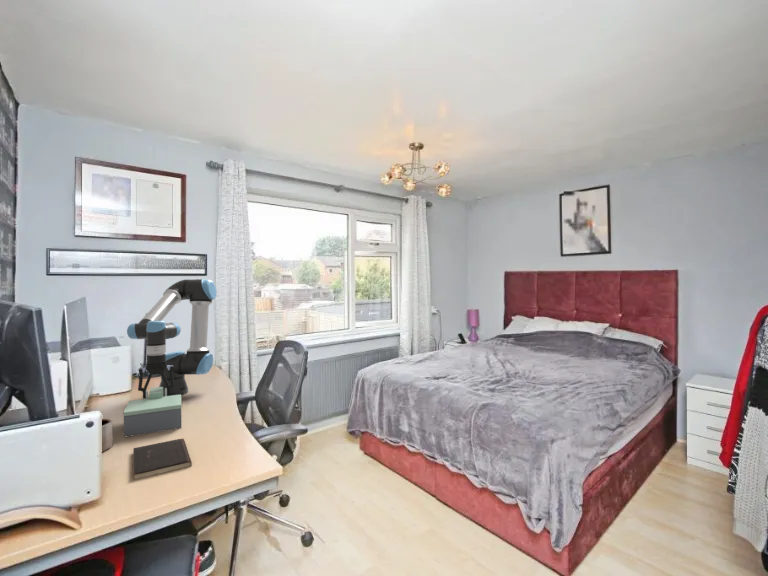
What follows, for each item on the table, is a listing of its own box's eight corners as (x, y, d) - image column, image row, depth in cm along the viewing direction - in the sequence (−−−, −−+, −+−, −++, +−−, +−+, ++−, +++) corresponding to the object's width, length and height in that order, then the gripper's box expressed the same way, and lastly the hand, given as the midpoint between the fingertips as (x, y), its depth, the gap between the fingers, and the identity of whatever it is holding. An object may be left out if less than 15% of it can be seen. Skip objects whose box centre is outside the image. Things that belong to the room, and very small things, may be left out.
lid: (131, 401, 171) (131, 390, 171) (181, 395, 180) (181, 384, 180) (123, 419, 147) (123, 406, 147) (181, 411, 157) (181, 398, 157)
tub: (129, 423, 163) (129, 404, 163) (181, 415, 172) (181, 398, 172) (123, 437, 147) (123, 416, 147) (181, 427, 157) (181, 408, 157)
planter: (80, 447, 138) (80, 421, 138) (115, 442, 142) (115, 417, 142) (69, 459, 128) (69, 431, 128) (107, 453, 132) (107, 426, 132)
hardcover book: (133, 481, 113) (133, 474, 113) (133, 454, 132) (133, 448, 132) (191, 467, 122) (191, 460, 122) (184, 443, 141) (184, 437, 141)
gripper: (129, 357, 164) (129, 409, 164) (180, 353, 174) (180, 402, 173) (131, 354, 171) (131, 405, 171) (180, 351, 180) (180, 398, 180)
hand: (156, 403), depth 172 cm, fingers open, 7 cm apart
